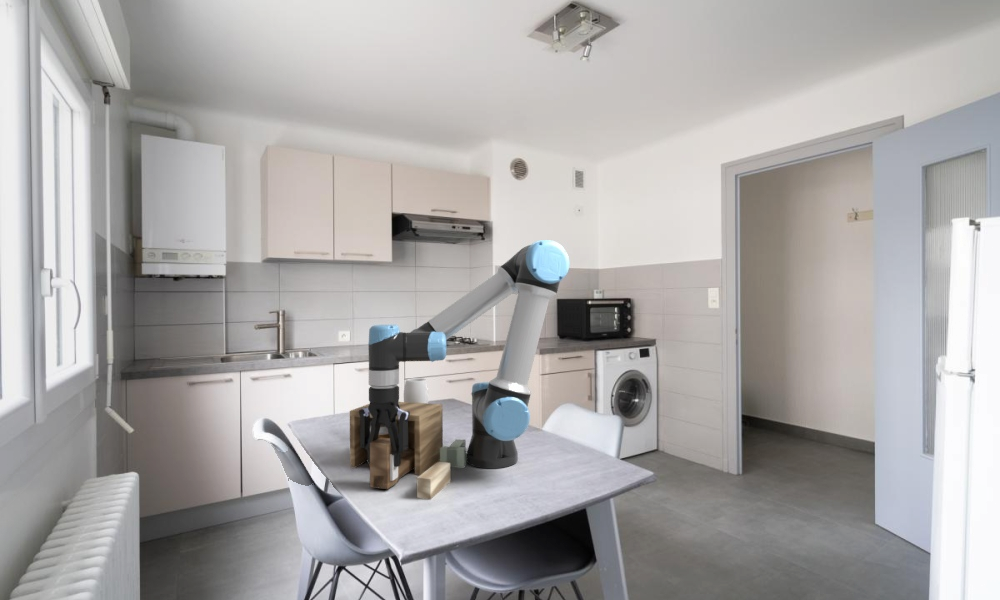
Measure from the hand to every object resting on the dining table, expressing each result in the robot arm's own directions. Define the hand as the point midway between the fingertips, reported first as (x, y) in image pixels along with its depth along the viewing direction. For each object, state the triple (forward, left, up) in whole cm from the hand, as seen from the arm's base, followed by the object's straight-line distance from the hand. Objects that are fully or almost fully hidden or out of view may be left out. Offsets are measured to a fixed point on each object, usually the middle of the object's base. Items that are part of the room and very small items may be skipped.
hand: (384, 477), depth 122 cm
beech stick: (-13, -2, -3) cm, 13 cm away
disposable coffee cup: (+10, -14, -3) cm, 17 cm away
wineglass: (+10, -37, -3) cm, 39 cm away
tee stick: (-10, -24, -2) cm, 26 cm away
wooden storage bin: (+6, -18, -2) cm, 19 cm away
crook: (+5, -9, -2) cm, 10 cm away
